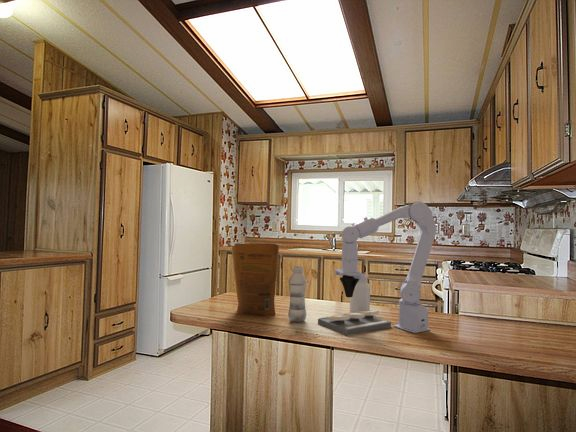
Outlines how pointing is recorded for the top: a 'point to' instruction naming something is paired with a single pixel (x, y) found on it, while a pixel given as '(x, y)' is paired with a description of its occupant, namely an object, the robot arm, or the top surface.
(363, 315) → the paddle middle
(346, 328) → the panel
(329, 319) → the paddle
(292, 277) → the plastic bottle
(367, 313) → the paddle
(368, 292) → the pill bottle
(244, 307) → the pancake mix bag
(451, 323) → the top surface
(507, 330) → the top surface
